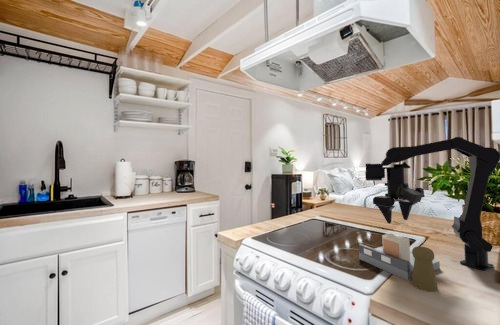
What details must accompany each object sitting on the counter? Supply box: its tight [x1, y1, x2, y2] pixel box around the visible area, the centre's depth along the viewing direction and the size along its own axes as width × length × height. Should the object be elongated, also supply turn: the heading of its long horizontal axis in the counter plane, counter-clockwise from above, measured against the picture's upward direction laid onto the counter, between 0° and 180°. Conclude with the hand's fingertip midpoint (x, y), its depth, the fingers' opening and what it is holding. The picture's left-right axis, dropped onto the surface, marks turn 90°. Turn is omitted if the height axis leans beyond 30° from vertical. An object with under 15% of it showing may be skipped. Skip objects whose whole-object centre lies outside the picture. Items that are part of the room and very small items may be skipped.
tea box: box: [381, 233, 411, 262], centre depth 80 cm, size 6×5×8 cm
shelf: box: [358, 243, 441, 281], centre depth 83 cm, size 16×18×6 cm
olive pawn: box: [411, 246, 438, 292], centre depth 68 cm, size 6×6×11 cm
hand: (397, 221), depth 89 cm, fingers open, 9 cm apart
